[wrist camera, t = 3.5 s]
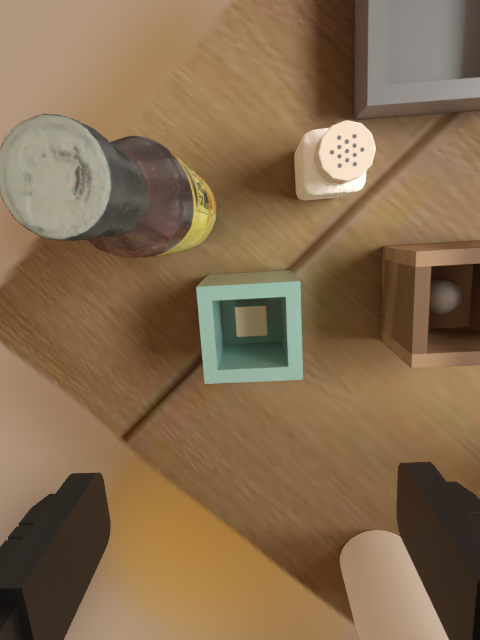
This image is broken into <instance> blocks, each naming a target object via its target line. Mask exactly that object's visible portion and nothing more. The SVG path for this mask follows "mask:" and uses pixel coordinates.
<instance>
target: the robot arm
mask: <svg viewBox="0 0 480 640" xmlns="http://www.w3.org/2000/svg"><path fill="white" fill-rule="evenodd" d="M397 523H398V528H399V532H400V536H401V538H402V541H403V543H404V545H405V547H406V549H407V552H408V554H409V556H410V558H411V560H412V562H413V564H414V566H415V569H416V571H417V573H418V575H419V577H420V579H421V581H422V583H423V586H424V588H425V590H426V592H427V594H428V596H429V598H430V600H431V603H432V605H433V607H434V609H435V611H436V613H437V615H438V617H439V620H440V622H441V624H442V626H443V628H444V630H445V632H446V634H447V637H448V639H449V640H480V500H479V499H478V497H477V496H476V495H475V494H473V493H472V492H470V491H469V490H467V489H466V488H464V487H463V486H462V485H460V484H459V483H457V482H446V481H445V479H444V478H443V477H442V475H441V474H440V473H439V471H438V470H437V469H436V467H435V466H434V465H433V464H432V463H431V462H413V463H400V464H399V467H398V485H397ZM109 536H110V517H109V510H108V504H107V498H106V492H105V485H104V480H103V476H102V475H101V473H75V474H71V475H70V476H69V477H68V478H67V479H66V480H65V482H64V483H63V484H62V486H61V487H60V489H59V490H58V491H57V493H56V494H49V495H48V496H46V497H45V498H44V499H42V500H41V501H40V502H38V503H37V504H36V505H34V506H33V507H32V508H31V509H30V510H29V511H28V513H27V514H26V515H25V517H24V518H23V519H22V520H21V522H20V523H19V526H18V527H16V528H15V529H14V530H13V532H12V533H11V534H10V535H9V537H8V540H6V541H5V542H4V543H3V544H2V545H1V547H0V640H64V638H65V635H66V633H67V631H68V629H69V627H70V625H71V622H72V620H73V618H74V616H75V614H76V612H77V609H78V607H79V605H80V603H81V601H82V599H83V597H84V594H85V592H86V590H87V588H88V586H89V584H90V582H91V579H92V577H93V575H94V573H95V571H96V568H97V566H98V564H99V562H100V560H101V557H102V555H103V553H104V551H105V549H106V547H107V544H108V540H109Z"/></svg>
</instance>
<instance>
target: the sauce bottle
mask: <svg viewBox="0 0 480 640" xmlns="http://www.w3.org/2000/svg"><path fill="white" fill-rule="evenodd" d="M0 194H1V196H2V199H3V202H4V204H5V206H6V207H7V209H8V210H9V212H10V213H11V215H12V216H13V217H14V218H15V220H17V221H18V222H19V223H20V224H21V225H22V226H24V227H25V228H27V229H28V230H30V231H32V232H34V233H35V234H37V235H39V236H41V237H44V238H47V239H51V240H68V241H75V240H86V239H88V241H89V242H90V243H91V244H93V245H94V246H95V247H96V248H98V249H99V250H103V251H105V252H107V253H111V254H113V255H117V256H121V257H127V258H129V257H130V258H137V257H153V256H159V255H164V254H170V253H175V252H181V251H186V250H189V249H192V248H194V247H196V246H198V245H199V244H200V243H202V242H203V241H204V240H205V239H206V238H207V237H208V236H209V235H210V233H211V232H212V230H213V228H214V226H215V220H216V209H217V206H216V202H215V198H214V195H213V193H212V191H211V189H210V187H209V186H208V185H207V183H206V182H205V181H204V180H203V179H202V178H201V177H200V176H198V175H197V174H196V173H195V172H194V171H193V170H192V169H191V168H189V167H188V166H187V165H186V164H185V163H184V162H183V161H181V160H180V159H179V158H178V157H176V156H175V155H174V154H173V153H172V152H170V151H169V150H168V149H167V148H165V147H164V146H163V145H161V144H160V143H158V142H156V141H154V140H152V139H149V138H146V137H140V136H129V137H124V138H121V139H118V140H115V141H112V142H108V140H107V139H106V138H104V137H103V136H102V135H101V134H100V133H98V132H97V131H96V130H95V129H93V128H91V127H89V126H87V125H85V124H82V123H80V122H79V121H76V120H74V119H71V118H68V117H65V116H61V115H50V114H42V115H38V116H34V117H32V118H29V119H27V120H25V121H23V122H21V123H20V124H19V125H17V126H15V127H14V128H13V129H12V130H11V132H10V133H9V134H8V135H7V136H6V137H5V139H4V141H3V143H2V145H1V148H0Z"/></svg>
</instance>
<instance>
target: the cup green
mask: <svg viewBox="0 0 480 640" xmlns="http://www.w3.org/2000/svg"><path fill="white" fill-rule="evenodd" d="M196 291H197V302H198V314H199V325H200V336H201V348H202V359H203V371H204V382H205V384H214V383H237V382H260V381H283V380H303V360H302V322H301V285H300V280H299V279H298V278H297V276H296V275H295V274H294V273H293V272H292V271H291V270H280V271H263V272H246V273H228V274H211V275H207V276H206V277H205V278H204V279H203V280H202V281H201V283H200V284H199V285H198V286H197V287H196Z"/></svg>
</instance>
